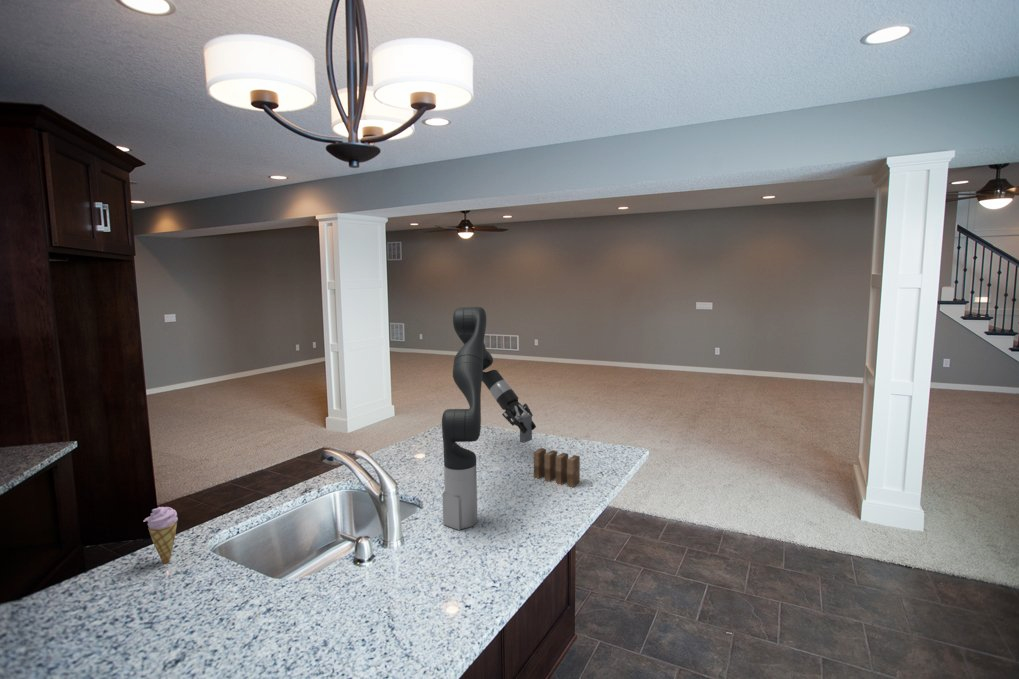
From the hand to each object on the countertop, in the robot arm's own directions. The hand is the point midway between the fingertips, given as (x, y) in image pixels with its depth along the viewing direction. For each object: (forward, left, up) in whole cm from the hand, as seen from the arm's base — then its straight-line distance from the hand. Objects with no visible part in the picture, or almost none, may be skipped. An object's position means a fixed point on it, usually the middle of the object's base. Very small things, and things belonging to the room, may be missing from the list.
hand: (530, 430), depth 190 cm
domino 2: (-6, -8, -14) cm, 17 cm away
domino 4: (-6, -17, -14) cm, 23 cm away
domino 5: (-6, -22, -14) cm, 26 cm away
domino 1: (0, +2, -4) cm, 5 cm away
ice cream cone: (-107, +39, -14) cm, 115 cm away
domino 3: (-6, -13, -14) cm, 20 cm away
